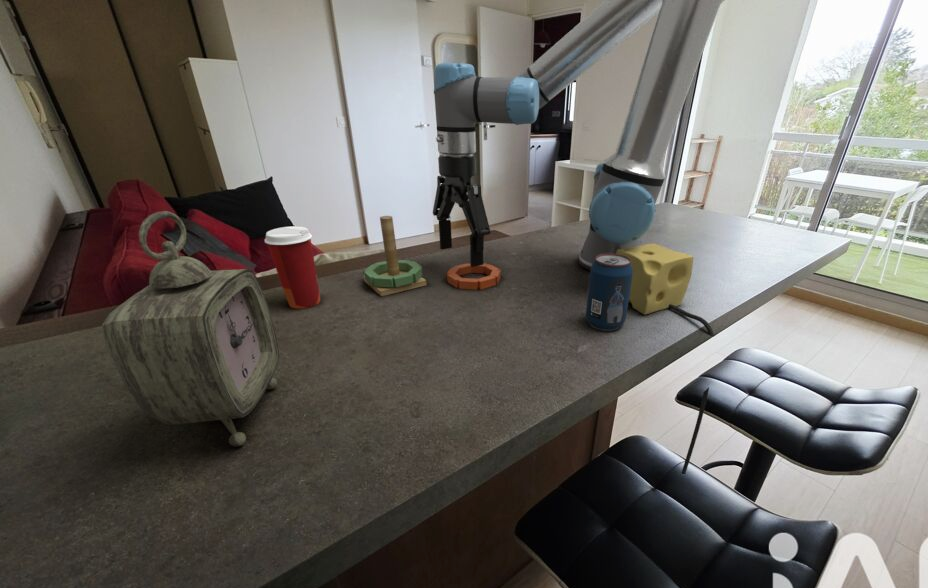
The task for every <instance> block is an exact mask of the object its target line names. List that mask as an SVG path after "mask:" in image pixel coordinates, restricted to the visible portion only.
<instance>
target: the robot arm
mask: <svg viewBox="0 0 928 588" xmlns="http://www.w3.org/2000/svg"><path fill="white" fill-rule="evenodd" d="M725 1H726V0H604V1H603V2H601V3H600V4H599V5H598V6H597V7H595V8H594V10H592V11H590V13H589V14H587V16H586V17H585V18H583V19H582V20H581V21H580V22H579V23H578V24H576V25H575V26H574V27H573V28H572V29H571V30H569V32H567V33H566V34H565V35H564V36H562V37H561V39H559V40H558V41H556V42H555V44H553V46H551V47H549V49H547V50H546V51H545V52H544V53H543V54H542V55H541V56H540V57H539V58H537V60H535V61H534V62H533V63H531V64H530V66H529V67H527V68H526V69H525V70H524V71H522V72H521V73H520V74H519V75H518V76H511V77H509V76H508V77H507V76H505V77H504V76H502V77H501V76H499V77H498V76H497V77H496V76H495V77H493V76H492V77H489V76H488V77H486V76H485V77H483V76H477V75H476V72H475V67H474V65H472V64H471V63H470V64H469V63H462V62H459V63H458V62H457V63H456V62H441V63H438V64H436V65H435V67H434V71H433V95H434V107H435V109H434V110H435V122H436V137H435V140H436V142H437V152H438V153H439V154H440V155H439V156H438V158H437V161H438V173H439V175H437V178H436V179H437V180H436V191H435V195H434V196H435V197H434V202H433V207H432V208H433V209H432V215H433V216H434V217H436V220H437V221H438V233H439V249H440V250H442V251H443V250H447V249H448V250H449V249H452V248H453V241H452V239H453V237H452V220H451V213H452V211H453V209H454V206H455V204H457V205H458V207H459V208H461V210H462V211H463V214H464V217H465V220H466V222H467V225H468V227H469V229H470V232H471V234H469V255H470V264H471V267H475V266H480V265H483V263H484V250H485V248H484V245H485V244H484V243H485V242H484V241H485V239H484V238H485V236H488V235H491V229H490V224H489V221H488V216H487V213H486V208H485V204H484V200H483V197H482V186H481V184H480V183H475V184H473V183H472V177H475V176H476V174H477V158H476V156H475V155H474V154H476V153H477V143H476V142H477V139H476V137H477V136H476V134H477V133H476V123H491V124H505V125H506V124H507V125H508V124H509V125H516V126H519V125H531V124H534V123H535V122H536V121H537V118H538V115H539V110H540V109H542V108H543V107H544V106H545V105H547V104H548V103H549V102H550V101H551V100H552V99H554V98H555V97H556V96H557V95H559V94H560V93H561V92H562V91H564V90H565V89H566V88H567V87H569V86H570V85H571V84H572V83H573V82H575V81H576V80H577V79H578V78H580V77H581V76H582V75H584V73H586V72H588V71H589V70H590V69H591V68H592V67H594V66H595V65H596V64H597V63H598V62H599V61H601V60H602V59H603V58H605V57H606V56H607V55H608V54H609V53H611V52H612V51H613V50H615V49H616V48H617V47H618V46H620V45H621V44H622V43H623V42H624V41H625V40H627V39H628V38H629V37H631V36H632V35H633V34H634V33H636V32H637V31H638V30H639V29H640V28H642V27H644V25H646V24H647V23H648V22H649V21H650V20H652V19H653V18H654V17H656V16H657V19H656V22H655V25H654V28H653V31H652V34H651V37H650V41H649V44H648V47H647V51H646V54H645V57H644V59H643V63H642V66H641V69H640V72H639V76H638V80H637V83H636V85H635V87H634V88H635V89H634V92H633V95H632V98H631V102H630V104H629V108H628V111H627V113H626V117H625V121H624V124H623V126H622V130H621V134H620V137H619V140H618V143H617V146H616V148H615V152H614V153H613V154H612V155H611V156H609V157H607V158H606V159H604V161H603V162H601V163H598V164H597V165H596V167H595V172H594V175H593V179H594V180H593V191H592V198H591V202H590V205H589V209H588V217H589V222H590V223H589V231H588V234H587V236H586V239H585V241H584V243H583V245H582V248H581V250H580V252H579V255H578V257H579V258H578V264H579V265H580V267H582V268H584V269H585V270H588V271H590V270H591V266H592V264H593V263H594V261H595V258H596V256H598V255H600V254H607V253H610V254H616V252H617V250H618V249H625V248H632V247H637V246H641V245H643V244H642V243H643V242H642V237H643V236H644V235H645V234H646V233H647V232H649V230H650V228H651V226H652V225H653V223H654V220H655V217H656V204H657V200H658V197H659V195H660V193H661V190H662V187H663V185H664V182H665V179H666V174H665V172H664V170H663V168H662V167H663V166H662V163H663V161H664V158H665V156H666V153H667V150H668V148H669V144H670V142H671V139H672V136H673V133H674V131H675V128H676V126H677V123H678V120H679V118H680V116H681V115H680V114H681V112H682V110H683V108H684V104H685V103H686V98H687V96H688V94H689V91H690V88H691V86H692V82H693V80H694V77H695V75H696V72H697V69H698V66H699V63H700V61H701V58H702V56H703V52H704V50H705V48H706V45H707V42H708V40H709V37H710V34H711V32H712V29H713V26H714V23H715V21H716V18H717V15H718V12H719V10H720V7H721V5H722V3H724V2H725ZM668 309H671V310H674V311H675V312H677V313H679V314H681V315H682V316H684V317H687V318H690V319H693V320H696V321H697V322H699V323H701V324H702V326H704V327H705V329H706V330H707V332H708V335H709V336H710V337H715V333H714V331H713V328H712V327H711V325H710V323H709V322H708V321H707V320H706V319H705V318H703V317H701V316H699V315H696V314H693V313H690V312H688V311H686V310H684V309H682V308H680V307H678V306H674V305H672V304H670V305H669V308H668ZM709 389H710V386H708V387H707V388H706V390H704V391H703V393H702V398H701V403H700V406H699V411H698V415H697V419H696V422H695V427H694V430H693V434H692V437H691V439H690V440H691V441H690V444H689V447H688V450H687V453H686V457H685V460H684V463H683V466H682V470H681V473H682V474H685V475H686V473H687V470H688V467H689V464H690V460H691V457H692V455H693V451H694V448H695V445H696V441H697V438H698V434H699V431H700V428H701V425H702V420H703V416H704V413H705V409H706V405H707V400H708V395H709Z"/></svg>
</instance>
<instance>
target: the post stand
mask: <svg viewBox="0 0 928 588" xmlns="http://www.w3.org/2000/svg"><path fill="white" fill-rule="evenodd" d="M379 221H380V229H381V235H382V242H383V249H384V256H385V261H386V264H387V272H382V273H380V274H378V275H386V276H395V275H400V274H404V273H408V272H409V271H404V270H399V265H398V260H399V257H398V251H397V242H396V235H395V227H394V221H393V216H392V215H382V216H379ZM363 281H364V282H365V284H367V285H368V286H369V287H370V288H371V289H372V290H373V291H374V292H375V293H377V294H378V295H379V296H380V297H384V296H389V295H392V294H397V293H401V292H404V291H410V290H413V289H417V288H421V287H425V286H427V279H425V278H423V277H422V276H421V277H420V278H419V279H418V280H417V281H416V282H414V283H411V284H407V285H403V286H399V287H395V286H393V287H378V286H374V285H371V284H370V283H369V282H367V281H366V280H365V275H363Z"/></svg>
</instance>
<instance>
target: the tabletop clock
mask: <svg viewBox="0 0 928 588" xmlns="http://www.w3.org/2000/svg"><path fill="white" fill-rule="evenodd" d="M163 219H170V220H173V221H174V222H175V223H176V224H177V225H178V227H179V231H180V236H179V239H178V241H177V242H176V243H175V242H173V241H171V240H165V241H163V242H162V244H161V248H162V250H163V251H162V252H154V251H151V249H150V248H149V246H148V243H147V238H148V237H147V236H148V232H149V229H150V228H151V226H152V225H153V224H154V223H156V222H158V221H160V220H163ZM138 242H139V245H140V248H141V249H142V252H144V253H145V255H147V256H148V257H150V258H151V259H154V260H160V261H158V262H156V263H155V265H154V266H153V268H152V269H151V271H150V274H149V278H148V279H149V281H148V282H149V284H148V285H147V286H145V287H144V288H142V289H141V290H139V291H138V292H136V293H134V294H133V295H132V296H130V297H129V298H128V299H126V300H125V301H123V303H121V304H119V305H118V306H117V307H115V308H114V309H113V310H112V311H111V312H110V313H109V314H108V315H107V316H106V318H105V319H104V321H103V323H102V326H101V329H102V333H103V339H104V342H105V345H106V348H107V351H108V352H109V355H110V357H111V359H112V361H113V363H114V365H115V367H116V369H117V371H118V373H119V375H120V378H121V380H122V382H124V385H125V386H126V388H127V389H128V391H129V393H130V395H131V396H132V397H133V399H134V402H135V403H136V404H137V406H138V407H139V408H140V409H141V410H142V411H143V412H144V414H146V415H147V416H149V417H150V418H153V419H154V420H156V421H158V422H160V423H163V424H165V425H166V426H171V425H182V424H183V425H184V424H191V423H192V424H193V423H203V422H211V421H214V422H215V421H221V422H222V423H223V425H224V426H225V427H226V430H228V432H229V433H230V434H231V435H230V436H229V438H228V443H229V445H230V446H232V447H236V448H239V447H241V446H243V445H245V443H246V441H247V435H246V434H245V433H244V432H241V431H237V429H236V426H235V424H234V422H233V419H242V418H245V417H246V416H248V415H249V414H250V413H251V412H252V411H253V410H254V408H255V407H256V406H257V404H258V403H259V401H260V400H261V398H262V397H263V395H264V394H265V392H266V391H267V390H274V389H275V388H276V387H277V386H278V380H277V378H275V377H274V375H275V373H276V370H277V367H278V364H279V361H280V351H279V349H280V348H279V344H278V339H277V334H276V330H275V325H274V322H273V319H272V315H271V311H270V308H269V305H268V303H267V299H266V297H265V294H264V291H263V289H262V286H261V283H260V281H259V279H258V277H257V275H256V273H255V272H254V270H253V269H252V268H242V269H241V268H239V269H220V270H211V269H210V268H209V267H208V266H207V265H206V264H205V263H204V262H202V261H200V260H199V259H197V258H194V257H191V256H184V255H181V256H180V254H179V253H180V252H181V251H182V250H183V249H184V247H185V245H186V243H187V229H186V226H185V224H184V222H183V220H182V219H181V218H180V217H179V216H178V215H177V214H175V212H171V211H168V210H163V211H156V212H154V213H152V214H150V215H148V216H147V217H146V218H144V219H143V221H142V222H141V224H140V226H139V230H138Z"/></svg>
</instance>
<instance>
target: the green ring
mask: <svg viewBox="0 0 928 588" xmlns="http://www.w3.org/2000/svg"><path fill="white" fill-rule="evenodd" d="M398 265H399V270H404V271H409V272H408V273H404V274H400V275H395V276H386V275H378V274H380V273H382V272H387V264H386V260H384V261H379V262H375V263H371V265H369V266H368V267H366V269H364V270H363V276H365V280H366V281H367V282H369V283H370V284H371V285H374V286H378V287H393V286H395V287H399V286H403V285H407V284H411V283H414V282H416V281H417V280H418V279H419V278H420V277H422V276H423V268H422V265H421V264H420V263H417V262H416V261H415V260H413V261H412V260H408V259H398Z"/></svg>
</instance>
